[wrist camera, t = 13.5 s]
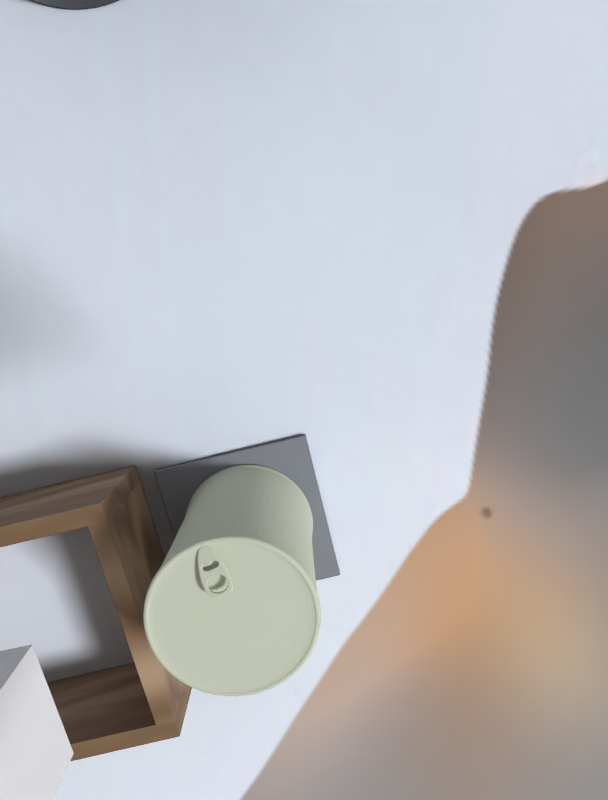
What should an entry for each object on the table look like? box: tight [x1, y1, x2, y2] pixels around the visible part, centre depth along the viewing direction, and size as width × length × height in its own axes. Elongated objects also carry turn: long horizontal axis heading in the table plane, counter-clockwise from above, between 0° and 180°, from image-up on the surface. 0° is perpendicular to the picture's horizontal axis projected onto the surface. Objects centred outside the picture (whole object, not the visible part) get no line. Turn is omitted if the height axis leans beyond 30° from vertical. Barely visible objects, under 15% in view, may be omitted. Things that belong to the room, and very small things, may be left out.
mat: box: [154, 435, 340, 580], centre depth 39 cm, size 11×11×1 cm
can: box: [143, 465, 321, 696], centre depth 33 cm, size 9×9×12 cm
